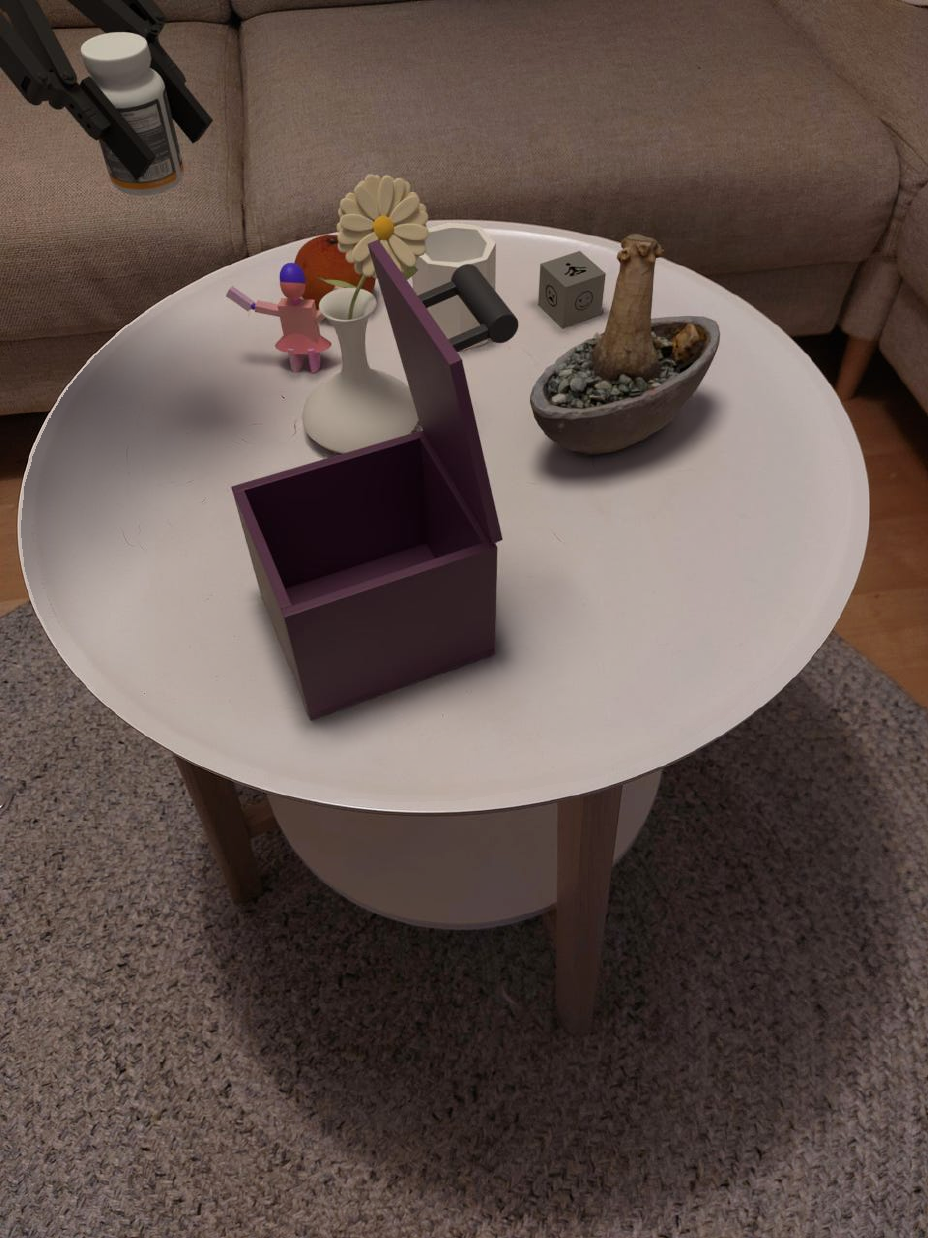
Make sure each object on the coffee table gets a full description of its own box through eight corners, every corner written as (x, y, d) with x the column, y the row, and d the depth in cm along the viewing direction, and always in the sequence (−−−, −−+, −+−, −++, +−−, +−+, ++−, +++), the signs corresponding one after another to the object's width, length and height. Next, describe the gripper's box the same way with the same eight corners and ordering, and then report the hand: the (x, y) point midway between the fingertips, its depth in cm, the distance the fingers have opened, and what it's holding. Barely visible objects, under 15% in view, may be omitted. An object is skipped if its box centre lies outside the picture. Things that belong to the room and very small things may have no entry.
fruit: (389, 316, 107) (384, 249, 101) (311, 334, 105) (300, 267, 99) (366, 273, 112) (359, 207, 106) (291, 290, 110) (279, 223, 104)
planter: (707, 395, 98) (751, 205, 82) (678, 509, 88) (722, 319, 73) (564, 368, 101) (579, 180, 85) (520, 476, 91) (529, 286, 75)
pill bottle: (126, 160, 79) (89, 26, 71) (195, 165, 79) (165, 30, 71) (101, 196, 76) (59, 59, 68) (173, 201, 75) (138, 63, 67)
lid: (449, 364, 55) (541, 323, 55) (366, 243, 63) (448, 208, 63) (492, 544, 68) (566, 510, 69) (420, 426, 76) (487, 396, 76)
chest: (310, 720, 75) (284, 617, 65) (261, 595, 83) (230, 486, 73) (495, 654, 79) (497, 546, 68) (431, 540, 86) (425, 428, 76)
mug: (499, 348, 103) (500, 264, 96) (418, 354, 103) (413, 270, 95) (486, 283, 111) (486, 200, 103) (410, 288, 110) (405, 206, 102)
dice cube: (562, 328, 105) (565, 287, 101) (538, 304, 108) (540, 263, 104) (601, 314, 107) (605, 273, 103) (576, 291, 109) (579, 250, 106)
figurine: (243, 351, 104) (221, 255, 95) (355, 353, 103) (343, 257, 94) (236, 371, 101) (213, 275, 93) (351, 374, 101) (339, 277, 92)
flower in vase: (307, 472, 92) (260, 223, 72) (301, 395, 99) (257, 149, 79) (444, 457, 93) (435, 207, 73) (429, 381, 100) (417, 135, 80)
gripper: (19, -145, 74) (232, 126, 81) (-196, -70, 64) (71, 231, 71) (46, -229, 68) (273, 72, 75) (-186, -160, 58) (103, 178, 65)
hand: (174, 149), depth 73 cm, fingers closed on pill bottle, 6 cm apart
